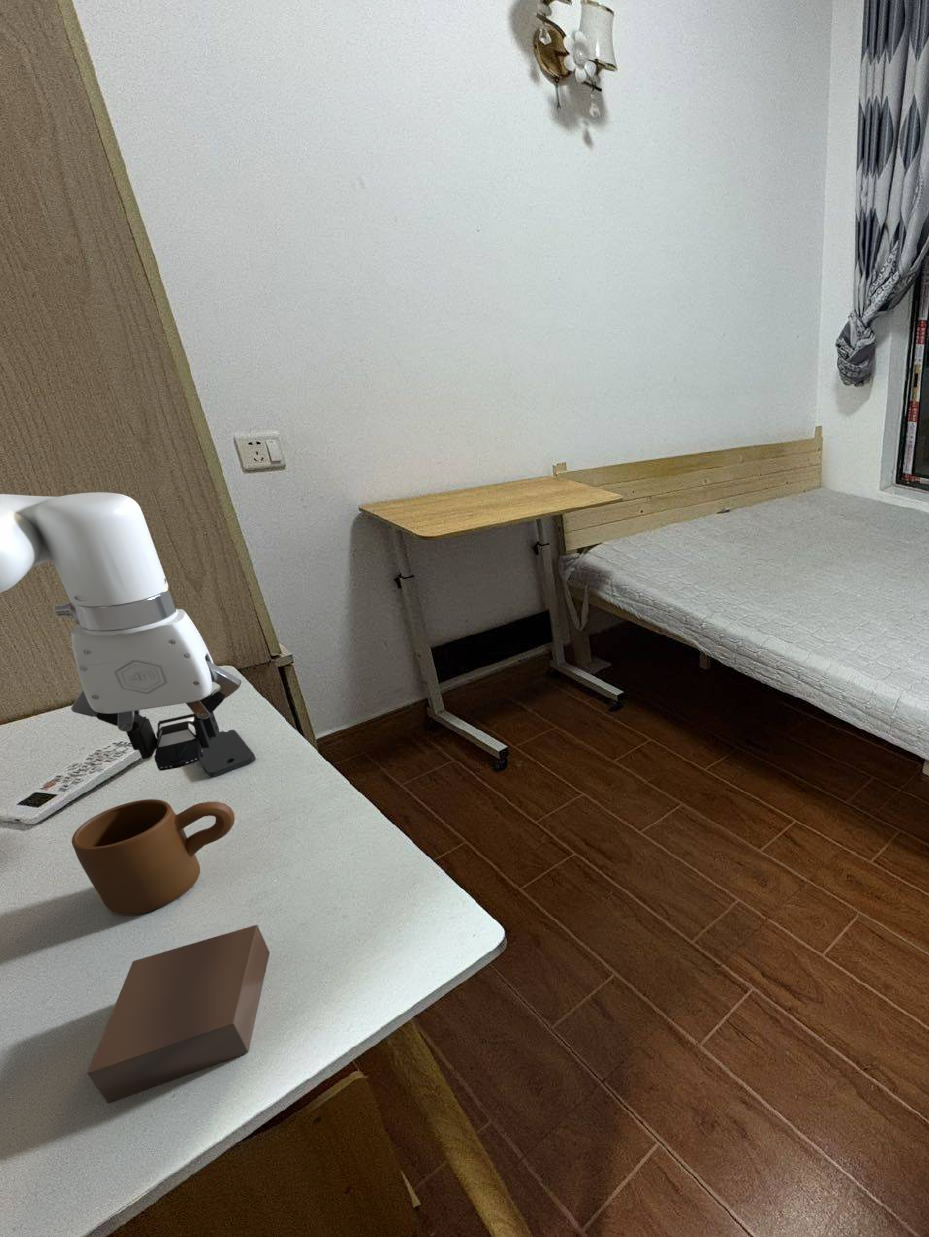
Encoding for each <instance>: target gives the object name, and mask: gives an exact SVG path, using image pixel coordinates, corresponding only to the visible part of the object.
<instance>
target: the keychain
mask: <svg viewBox="0 0 929 1237" xmlns="http://www.w3.org/2000/svg"><path fill="white" fill-rule="evenodd" d="M202 750H203V754H204V756H203V757H200V760H199V761H198V762H199V763H200V764H201V766H202V767H203V769H204V771H205V772H206V773H207V775H208V776H209V777H211V778H212V777H217V776H219V775H223V774H225V773H228V772H231V771H234V770H236V769H238V768H241V767H243V766H246V765H249V764H251V763H253V762H256V761H257V757H256V755H255V753H254V752H253V751H252V749H250V747H249V746H248V744H246V742H245V741H244V740H243V738H242V737H241V736H240V734H238V732H237V731H236V730H235V729H229V730H227V731H224V730H222V731H219V735H218V737H215V738H214V741H213V743H212V745H211V747H210V748H205V749H204V748H202Z"/></svg>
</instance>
